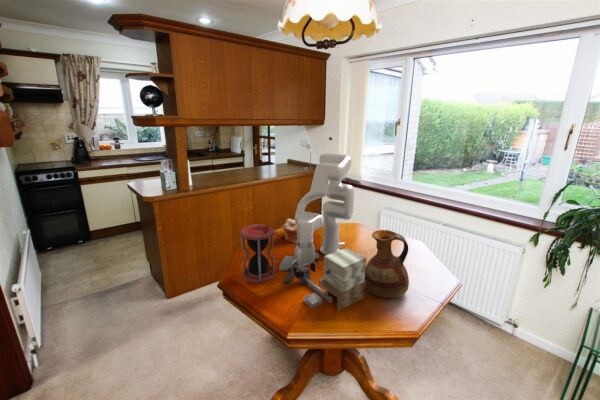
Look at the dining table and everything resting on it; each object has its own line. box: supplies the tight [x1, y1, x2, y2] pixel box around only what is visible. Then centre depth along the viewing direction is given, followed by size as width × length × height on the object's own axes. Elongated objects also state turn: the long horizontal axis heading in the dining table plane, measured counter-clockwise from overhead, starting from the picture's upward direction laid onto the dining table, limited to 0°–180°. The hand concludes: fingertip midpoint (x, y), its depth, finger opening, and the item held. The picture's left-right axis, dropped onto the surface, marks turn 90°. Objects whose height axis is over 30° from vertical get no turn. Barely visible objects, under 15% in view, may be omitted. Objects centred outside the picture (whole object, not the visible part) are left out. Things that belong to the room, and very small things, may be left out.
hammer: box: [298, 266, 333, 304], centre depth 136 cm, size 4×22×7 cm, turn 37°
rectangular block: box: [303, 292, 324, 309], centre depth 128 cm, size 6×6×2 cm
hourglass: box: [240, 223, 276, 284], centre depth 146 cm, size 16×16×25 cm
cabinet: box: [318, 247, 367, 311], centre depth 130 cm, size 16×14×20 cm
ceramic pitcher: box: [365, 229, 410, 299], centre depth 133 cm, size 20×20×30 cm
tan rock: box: [282, 218, 315, 244], centre depth 192 cm, size 14×26×15 cm, turn 133°
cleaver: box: [278, 255, 298, 286], centre depth 155 cm, size 29×10×2 cm, turn 175°
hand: (305, 274), depth 143 cm, fingers open, 9 cm apart
